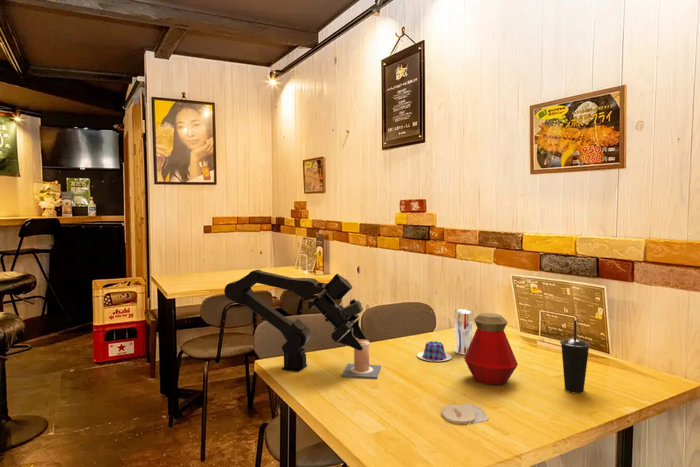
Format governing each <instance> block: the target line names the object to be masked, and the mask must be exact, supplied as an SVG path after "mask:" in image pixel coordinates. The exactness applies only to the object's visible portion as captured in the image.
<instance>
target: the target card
mask: <svg viewBox="0 0 700 467" xmlns="http://www.w3.org/2000/svg"><path fill="white" fill-rule="evenodd" d="M381 368H382V365H381V364H369V371H366V372H358V371H355V370H354V363H347V365H346V367H345V368H344V370H343V371H342V373H341V378H356V379H358V378H359V379H374V380H377V379H378V376H379V373H380V372H381Z"/></svg>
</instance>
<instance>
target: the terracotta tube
mask: <svg viewBox="0 0 700 467" xmlns="http://www.w3.org/2000/svg"><path fill="white" fill-rule="evenodd" d="M357 340H358V342H359V343H360V344H361V346H362V347H363V349H362V350H361V351H360V350H357V349H355V348H353V360H354V361H353V364H354V370H355V371H358V372H366V371H369V365H370V340H368V339H367V340H363V339H360V340H359V339H357Z"/></svg>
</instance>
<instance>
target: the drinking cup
mask: <svg viewBox="0 0 700 467" xmlns="http://www.w3.org/2000/svg"><path fill="white" fill-rule="evenodd" d="M577 322H578V321H577V320H576V319H575V320H573V337H568V338H565V339H561V340H560V345H561V357H562V358H561V359H562V368H563V369H562V370H563V379H564V380H563V382H564V390H565V389H566V390H567V391H566V390H565V391H566V392H568V391H570V392H569V393H572V392H574V393H573V394H582V393H581V392H583V393H584V392H585V382H586V376H587V375H586V374H587V367H588V366H587V365H588V358H589V350H590V347H591V344H590V343H589V342H588V341H586V340H583V339H581V338H578V337H577V334H578V333H577V330H578V329H577V326H578V325H577V324H578V323H577Z"/></svg>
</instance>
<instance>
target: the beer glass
mask: <svg viewBox="0 0 700 467" xmlns="http://www.w3.org/2000/svg"><path fill="white" fill-rule="evenodd" d="M474 318H475V316H474V311H473V310H470V309H455V310H454V316H453V328H454V334H455V348H454V352H455V353H456V354H457V353H458V355H461V354H462V355H463V356H465V355H466V352H467V350H468V348H469V345H470V343H471V341H472V339H473V335H474V334H473V333H474V328H475V327H474V326H475V321H474Z"/></svg>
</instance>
